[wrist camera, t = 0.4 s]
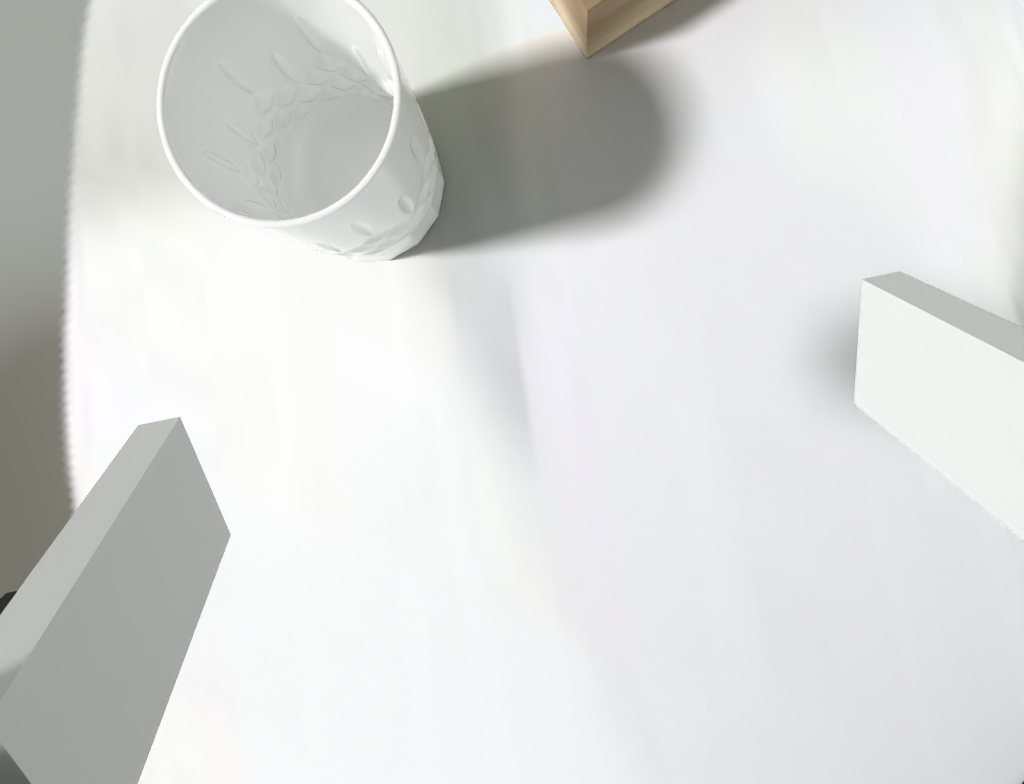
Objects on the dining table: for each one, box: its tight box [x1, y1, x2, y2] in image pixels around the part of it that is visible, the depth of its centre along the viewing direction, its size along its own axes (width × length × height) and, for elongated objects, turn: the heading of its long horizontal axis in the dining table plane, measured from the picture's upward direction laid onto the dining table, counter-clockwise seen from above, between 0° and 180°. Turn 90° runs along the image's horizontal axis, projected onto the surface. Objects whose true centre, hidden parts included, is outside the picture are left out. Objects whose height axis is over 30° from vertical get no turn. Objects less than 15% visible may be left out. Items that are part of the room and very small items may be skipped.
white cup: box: [157, 0, 445, 262], centre depth 27 cm, size 8×8×10 cm
